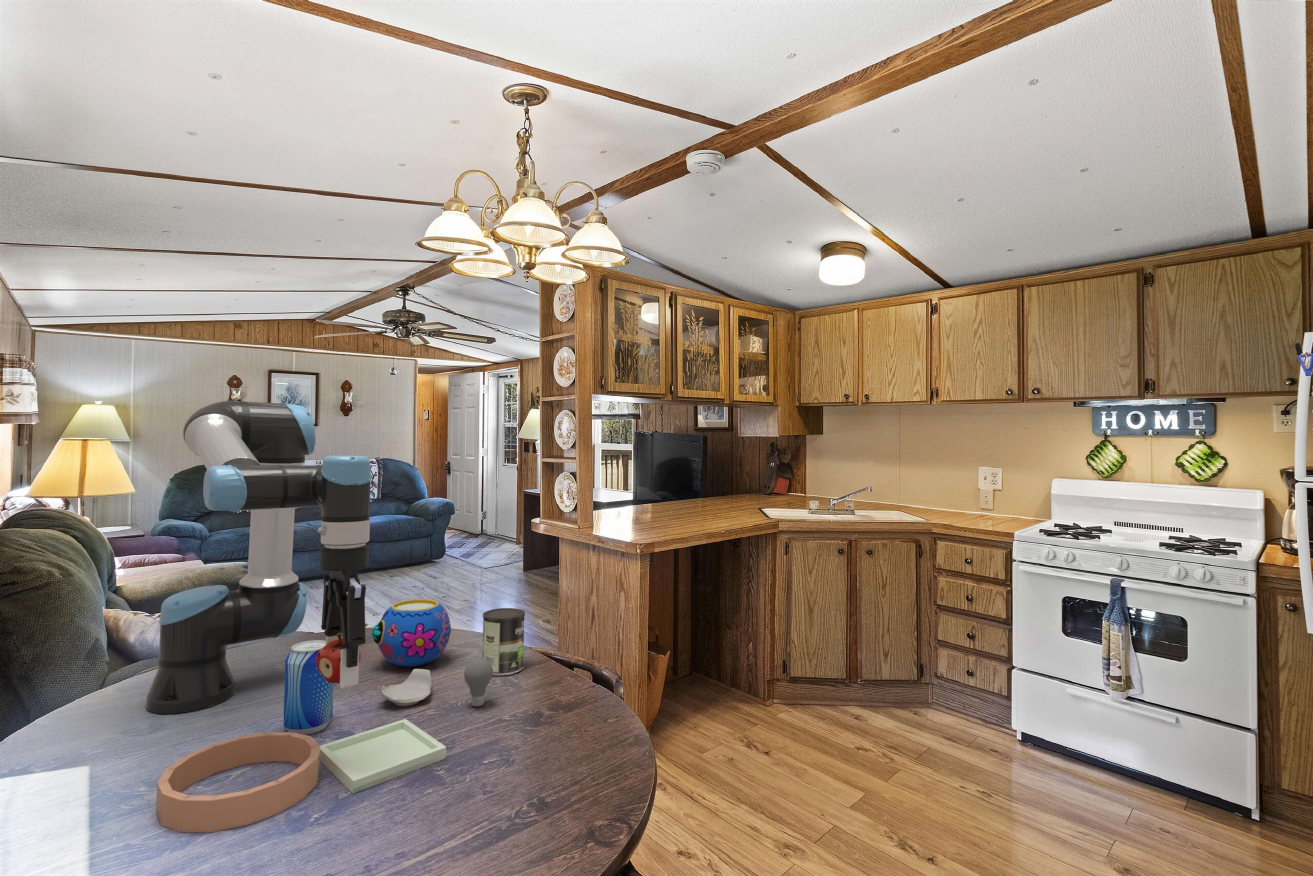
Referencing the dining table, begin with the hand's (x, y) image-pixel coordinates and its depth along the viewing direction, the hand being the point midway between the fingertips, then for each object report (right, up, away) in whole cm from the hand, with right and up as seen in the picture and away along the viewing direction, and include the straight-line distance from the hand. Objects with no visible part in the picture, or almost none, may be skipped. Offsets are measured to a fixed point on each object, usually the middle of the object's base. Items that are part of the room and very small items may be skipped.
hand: (341, 678), depth 106 cm
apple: (0, -1, 0) cm, 1 cm away
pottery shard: (0, -16, +29) cm, 33 cm away
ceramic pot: (-8, -16, +52) cm, 55 cm away
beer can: (-14, -16, +15) cm, 26 cm away
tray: (+5, -16, +4) cm, 17 cm away
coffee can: (+16, -17, +49) cm, 54 cm away
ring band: (-12, -15, -7) cm, 21 cm away
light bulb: (+16, -16, +27) cm, 35 cm away
